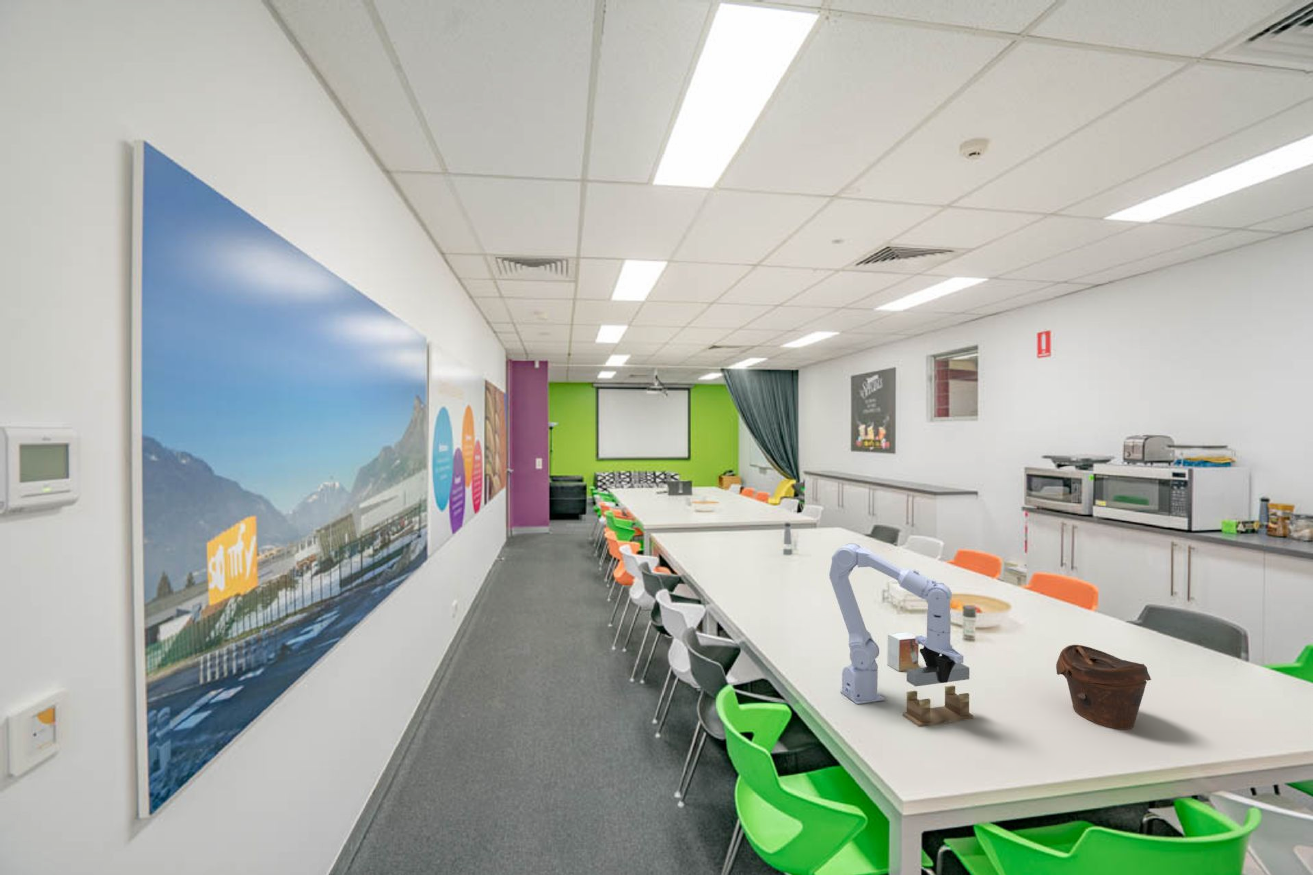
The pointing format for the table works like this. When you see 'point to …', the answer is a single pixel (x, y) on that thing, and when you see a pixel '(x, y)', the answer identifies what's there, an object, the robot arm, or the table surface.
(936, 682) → the rail
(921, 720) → the rack
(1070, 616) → the table surface
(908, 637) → the small box
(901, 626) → the table surface
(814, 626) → the table surface
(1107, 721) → the case
